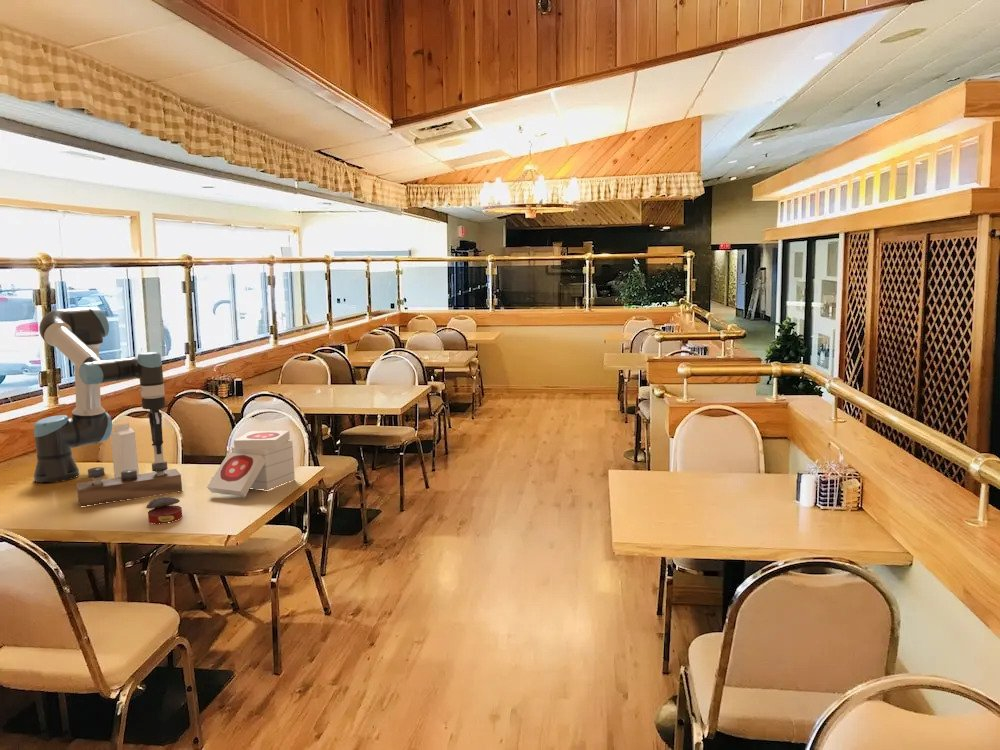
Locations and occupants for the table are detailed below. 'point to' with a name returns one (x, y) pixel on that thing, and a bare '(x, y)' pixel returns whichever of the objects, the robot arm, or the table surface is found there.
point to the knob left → (96, 474)
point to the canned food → (164, 510)
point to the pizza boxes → (255, 463)
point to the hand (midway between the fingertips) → (159, 462)
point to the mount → (129, 488)
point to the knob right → (159, 468)
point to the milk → (124, 449)
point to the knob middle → (129, 475)
